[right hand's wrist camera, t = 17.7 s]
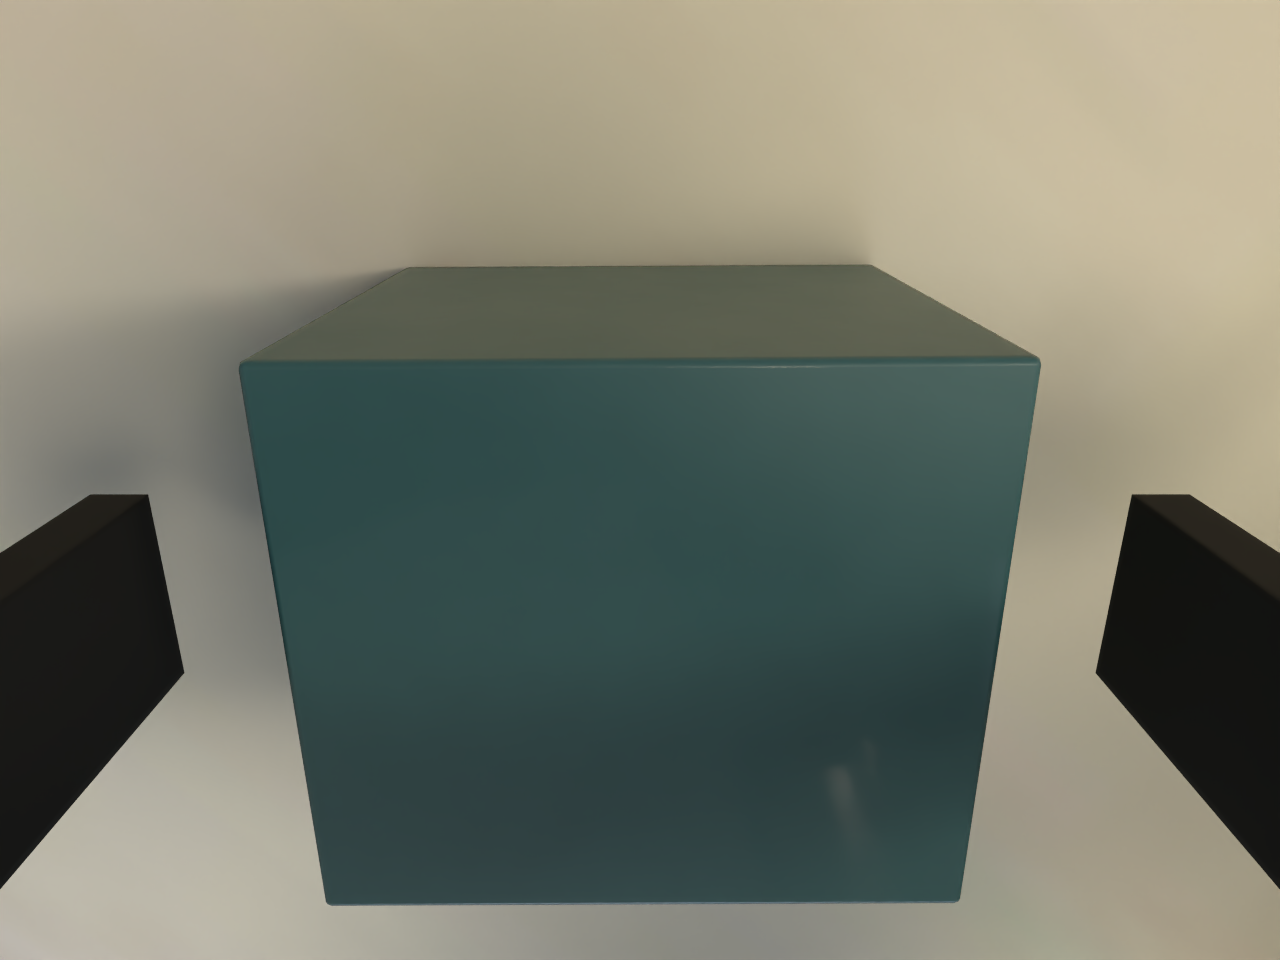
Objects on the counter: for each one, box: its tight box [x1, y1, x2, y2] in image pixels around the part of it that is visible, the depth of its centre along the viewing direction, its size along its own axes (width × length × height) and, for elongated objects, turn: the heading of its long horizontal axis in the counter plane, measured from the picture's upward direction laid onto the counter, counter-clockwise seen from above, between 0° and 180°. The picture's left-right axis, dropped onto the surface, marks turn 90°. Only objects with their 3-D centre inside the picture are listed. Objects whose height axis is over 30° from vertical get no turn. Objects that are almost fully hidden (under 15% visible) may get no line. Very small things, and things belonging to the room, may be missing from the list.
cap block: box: [239, 265, 1041, 906], centre depth 13 cm, size 7×8×7 cm
